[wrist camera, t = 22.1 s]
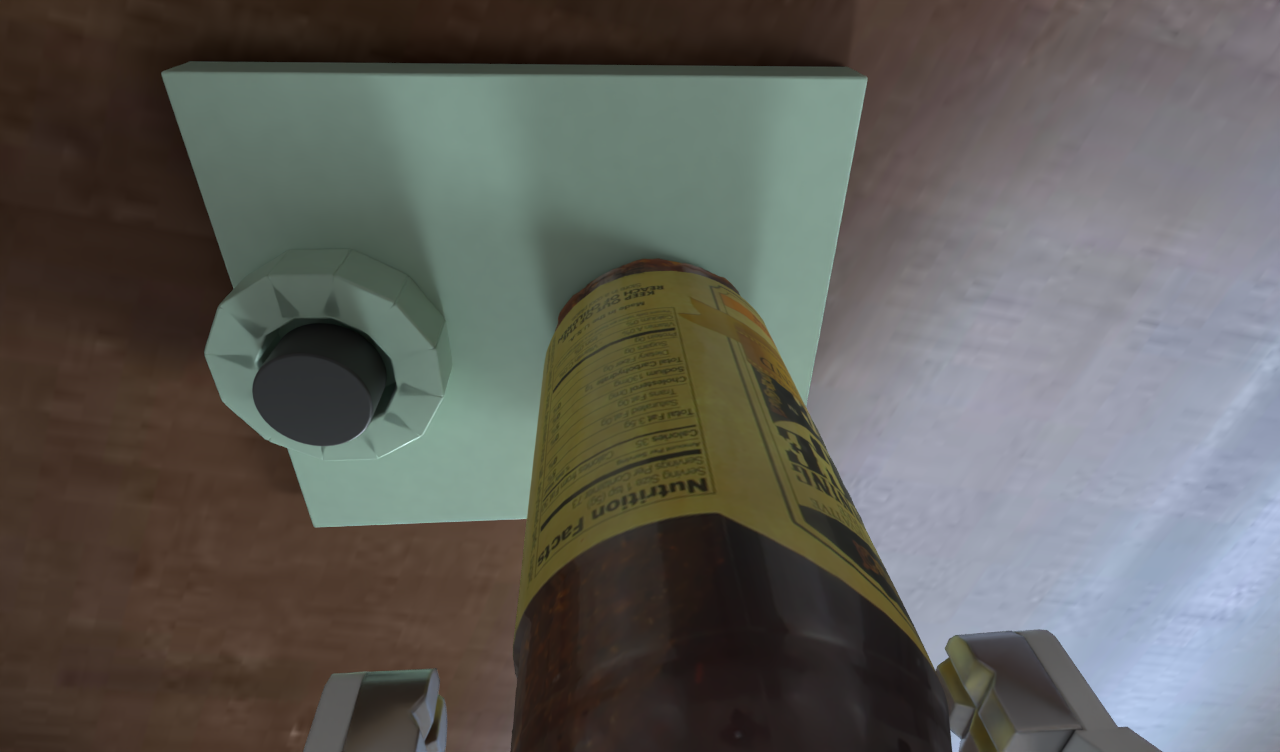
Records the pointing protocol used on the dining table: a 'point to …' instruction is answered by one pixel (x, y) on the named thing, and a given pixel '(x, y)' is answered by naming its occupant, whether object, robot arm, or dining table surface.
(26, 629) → the dining table surface
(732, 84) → the green panel with knob
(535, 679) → the sauce bottle
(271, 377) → the button
